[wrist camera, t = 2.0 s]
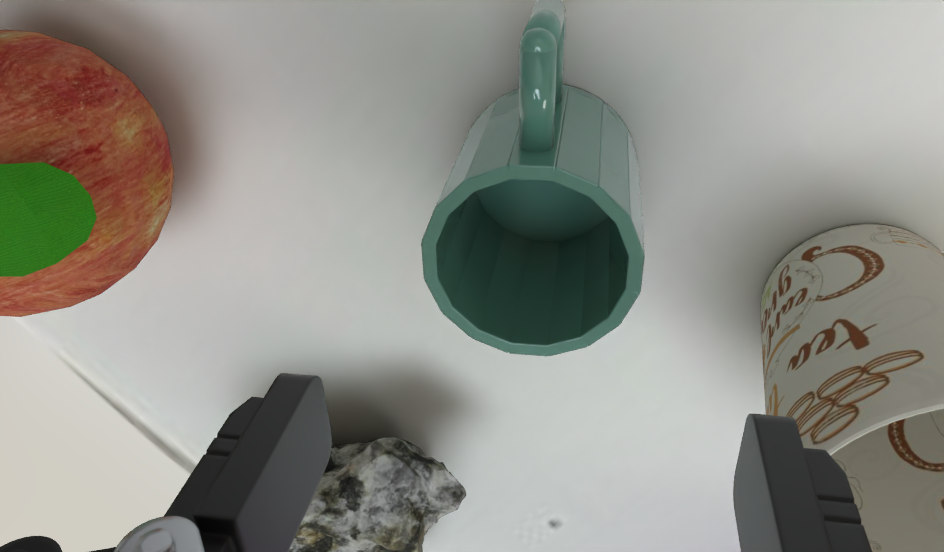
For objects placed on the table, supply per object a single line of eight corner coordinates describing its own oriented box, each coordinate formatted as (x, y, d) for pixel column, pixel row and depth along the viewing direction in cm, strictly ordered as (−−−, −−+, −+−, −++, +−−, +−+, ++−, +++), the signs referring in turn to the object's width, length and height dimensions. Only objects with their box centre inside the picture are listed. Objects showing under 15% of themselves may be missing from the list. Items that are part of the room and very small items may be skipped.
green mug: (629, 248, 26) (632, 363, 21) (466, 238, 27) (428, 347, 22) (654, -16, 21) (667, 43, 16) (456, -17, 22) (405, 39, 17)
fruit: (-68, 32, 26) (-390, 139, 18) (164, -30, 24) (-83, 59, 15) (58, 245, 30) (-155, 412, 22) (266, 210, 28) (116, 385, 19)
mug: (909, 138, 23) (1081, 332, 14) (1091, 396, 26) (1314, 671, 18) (678, 281, 26) (707, 500, 18) (865, 488, 30) (961, 750, 22)
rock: (537, 606, 33) (332, 715, 32) (472, 458, 39) (301, 547, 39) (439, 461, 25) (164, 604, 24) (379, 304, 31) (161, 416, 31)
